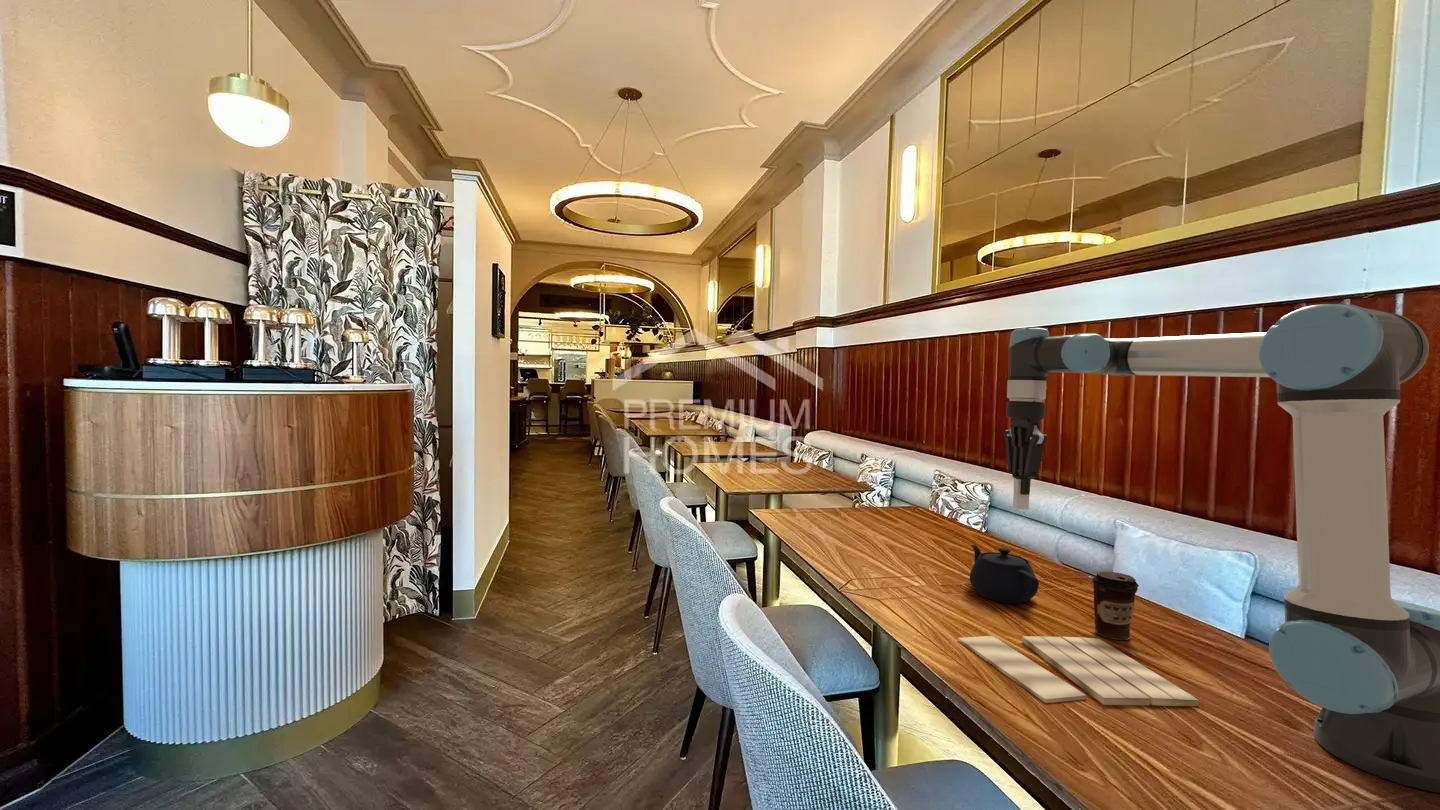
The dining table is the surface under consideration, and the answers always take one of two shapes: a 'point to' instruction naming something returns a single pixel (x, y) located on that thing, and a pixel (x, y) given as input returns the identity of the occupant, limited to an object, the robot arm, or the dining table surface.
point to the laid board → (1086, 671)
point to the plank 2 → (1133, 673)
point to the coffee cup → (1114, 604)
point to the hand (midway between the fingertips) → (1020, 508)
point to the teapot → (1003, 576)
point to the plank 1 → (1022, 670)
